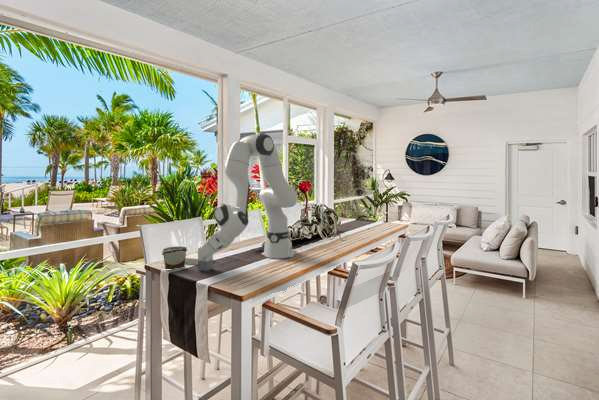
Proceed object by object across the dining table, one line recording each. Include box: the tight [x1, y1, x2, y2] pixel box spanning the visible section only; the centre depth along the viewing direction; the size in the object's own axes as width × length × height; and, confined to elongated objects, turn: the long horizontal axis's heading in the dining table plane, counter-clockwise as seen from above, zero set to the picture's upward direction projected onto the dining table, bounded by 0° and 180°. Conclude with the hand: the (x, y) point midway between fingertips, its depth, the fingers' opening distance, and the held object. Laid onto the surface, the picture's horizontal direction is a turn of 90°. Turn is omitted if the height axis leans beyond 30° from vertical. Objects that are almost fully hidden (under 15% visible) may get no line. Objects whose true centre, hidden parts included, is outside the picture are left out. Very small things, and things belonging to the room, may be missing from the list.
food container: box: [161, 246, 188, 270], centre depth 172 cm, size 12×6×10 cm, turn 135°
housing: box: [197, 246, 214, 272], centre depth 169 cm, size 5×5×11 cm
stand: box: [185, 252, 198, 266], centre depth 184 cm, size 11×11×3 cm
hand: (204, 257), depth 169 cm, fingers closed on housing, 5 cm apart
